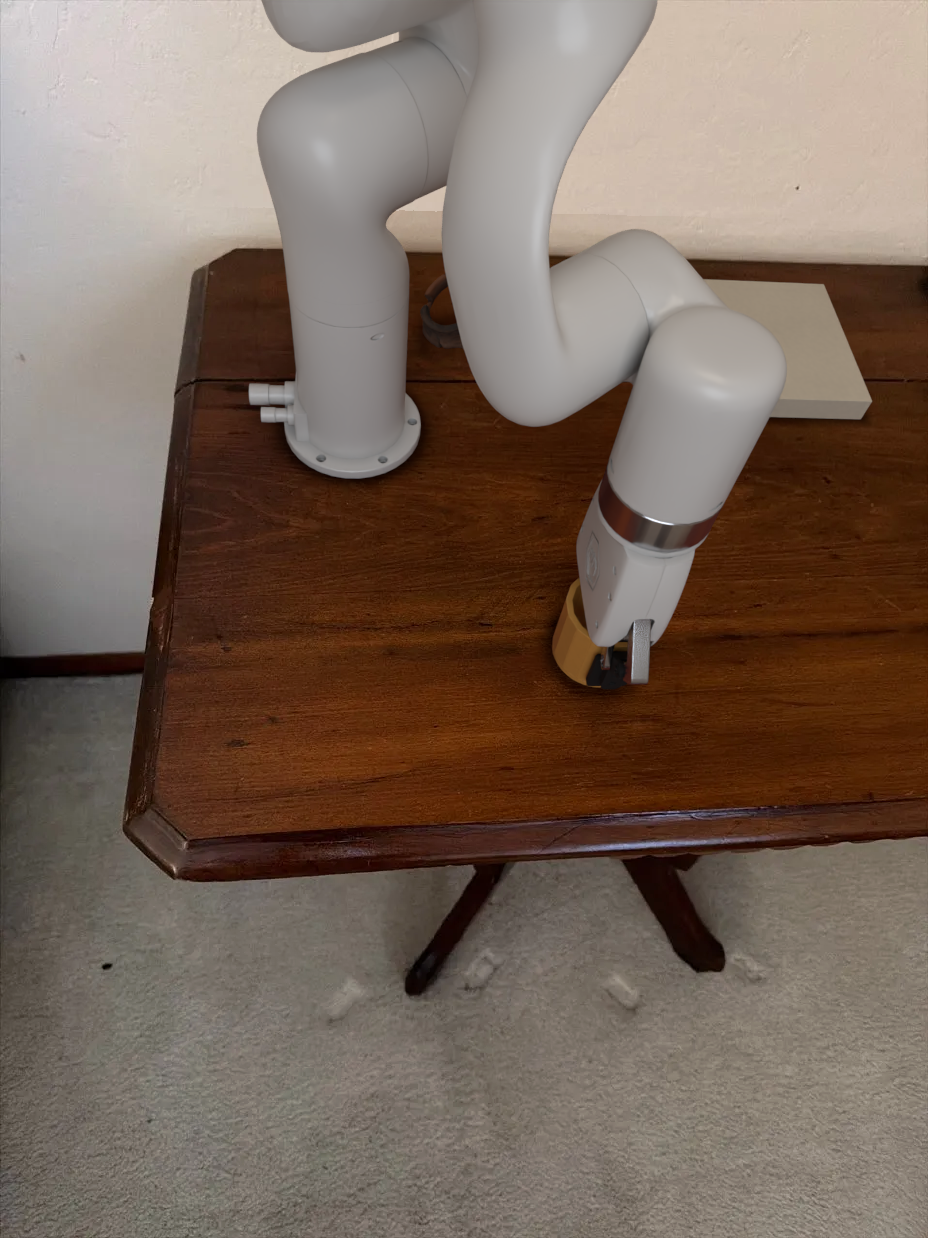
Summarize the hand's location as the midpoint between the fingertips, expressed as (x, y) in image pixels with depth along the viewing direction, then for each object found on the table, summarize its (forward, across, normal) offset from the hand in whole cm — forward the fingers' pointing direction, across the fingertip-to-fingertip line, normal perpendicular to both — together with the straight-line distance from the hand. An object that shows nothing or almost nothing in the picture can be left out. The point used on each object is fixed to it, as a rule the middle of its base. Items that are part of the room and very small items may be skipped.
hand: (599, 638), depth 70 cm
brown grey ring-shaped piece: (+2, -38, -8) cm, 39 cm away
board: (+2, -36, +21) cm, 42 cm away
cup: (+2, 0, 0) cm, 2 cm away
